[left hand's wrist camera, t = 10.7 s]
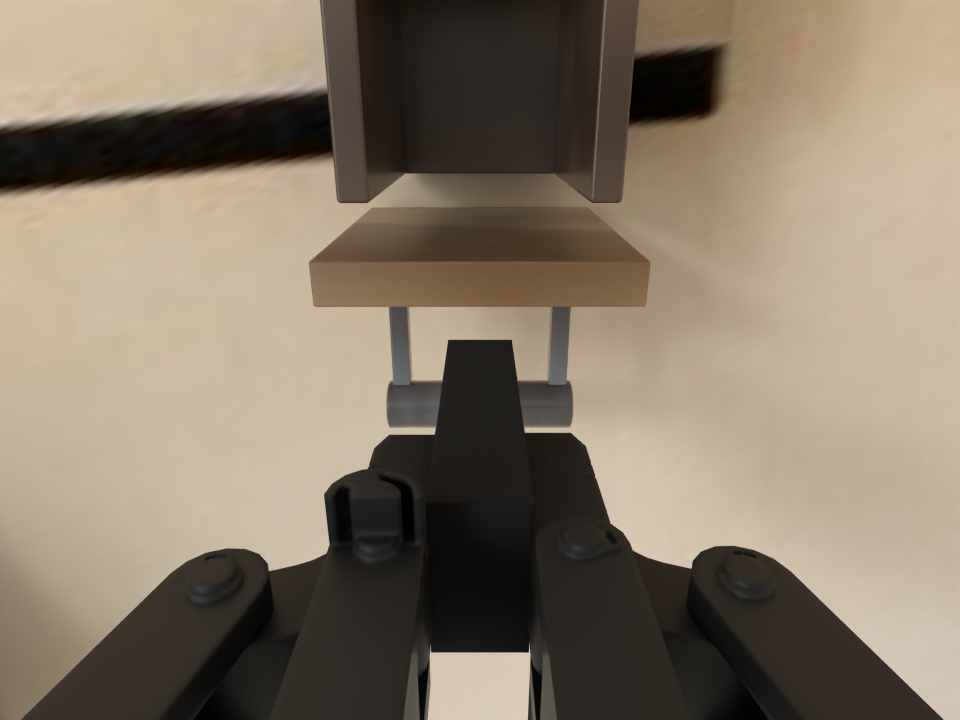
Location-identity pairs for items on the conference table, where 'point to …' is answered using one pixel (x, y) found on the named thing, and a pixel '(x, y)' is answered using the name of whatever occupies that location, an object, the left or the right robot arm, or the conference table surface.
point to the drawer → (479, 169)
